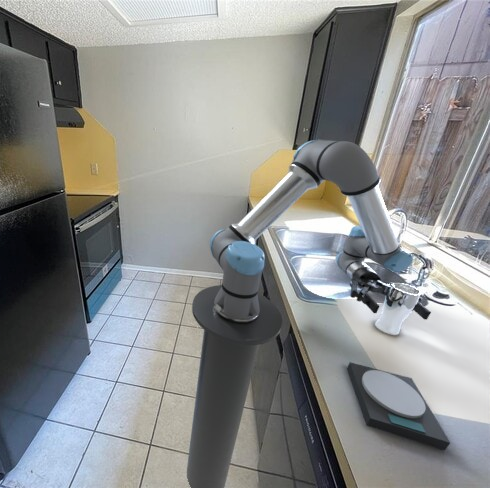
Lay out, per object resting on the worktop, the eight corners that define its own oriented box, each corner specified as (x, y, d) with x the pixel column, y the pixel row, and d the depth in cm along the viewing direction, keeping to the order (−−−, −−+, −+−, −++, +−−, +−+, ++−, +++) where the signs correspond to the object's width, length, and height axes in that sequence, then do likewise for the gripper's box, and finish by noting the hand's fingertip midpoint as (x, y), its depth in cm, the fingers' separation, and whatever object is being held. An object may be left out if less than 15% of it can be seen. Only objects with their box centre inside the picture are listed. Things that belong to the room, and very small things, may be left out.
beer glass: (403, 339, 77) (425, 298, 71) (374, 330, 80) (393, 290, 74) (398, 326, 82) (418, 286, 76) (371, 318, 86) (389, 279, 80)
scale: (346, 368, 67) (350, 359, 65) (407, 385, 63) (413, 375, 62) (366, 425, 54) (371, 415, 52) (444, 450, 50) (452, 440, 49)
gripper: (396, 288, 95) (443, 328, 76) (324, 281, 98) (352, 317, 79) (404, 271, 92) (455, 307, 73) (330, 263, 95) (360, 297, 76)
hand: (401, 312), depth 76 cm, fingers open, 13 cm apart
